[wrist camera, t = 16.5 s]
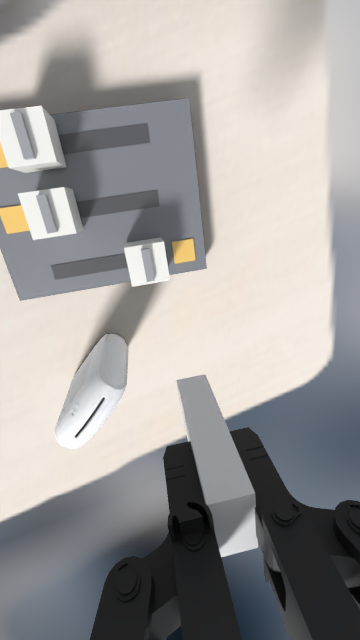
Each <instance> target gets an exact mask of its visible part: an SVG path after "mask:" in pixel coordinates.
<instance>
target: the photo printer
mask: <svg viewBox="0 0 360 640" xmlns="http://www.w3.org/2000/svg"><path fill="white" fill-rule="evenodd" d="M127 369H128V345H126V342H125V340H124V339H123V338H122V337H121V336H119V335H116V334H105V335H104V336H103V337H102V338H101V339H100V340H99V342H98V343H97V344H96V346H95V347H94V348H93V350H92V351H91V352H90V354H89V355H88V357H87V358H86V359H85V361H84V362H83V364H82V365H81V367H80V368H79V370H78V371H77V373H76V374H75V376H74V378H73V380H72V382H71V385H70V388H69V391H68V394H67V397H66V399H65V402H64V405H63V408H62V411H61V414H60V416H59V419H58V422H57V425H56V428H55V437H56V439H57V441H58V443H59V444H60V445H61V446H66V447H68V448H70V449H76V448H78V447H80V446H81V445H83V444H85V443H86V442H87V441H88V440H89V439H90V438H91V437H92V436H93V435H94V434H95V433H96V432H97V431H98V430H99V429H100V427H101V426H102V425H103V424H104V422H105V421H106V420H107V418H108V417H109V416H110V414H111V413H112V411H113V410H114V408H115V407H116V405H117V404H118V402H119V400H120V399H121V397H122V395H123V393H124V391H125V388H126V385H127Z"/></svg>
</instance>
